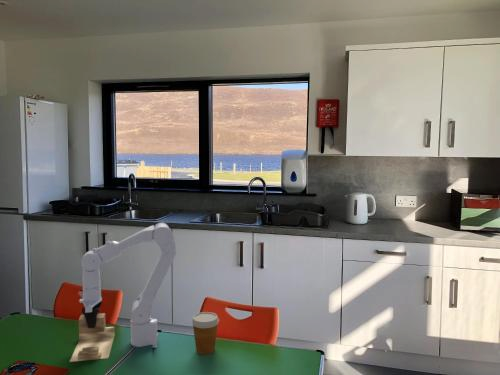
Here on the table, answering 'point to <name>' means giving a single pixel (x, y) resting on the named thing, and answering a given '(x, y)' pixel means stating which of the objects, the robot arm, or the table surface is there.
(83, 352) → the offcut stack
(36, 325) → the table surface
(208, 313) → the disposable coffee cup
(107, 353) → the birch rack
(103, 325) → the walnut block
